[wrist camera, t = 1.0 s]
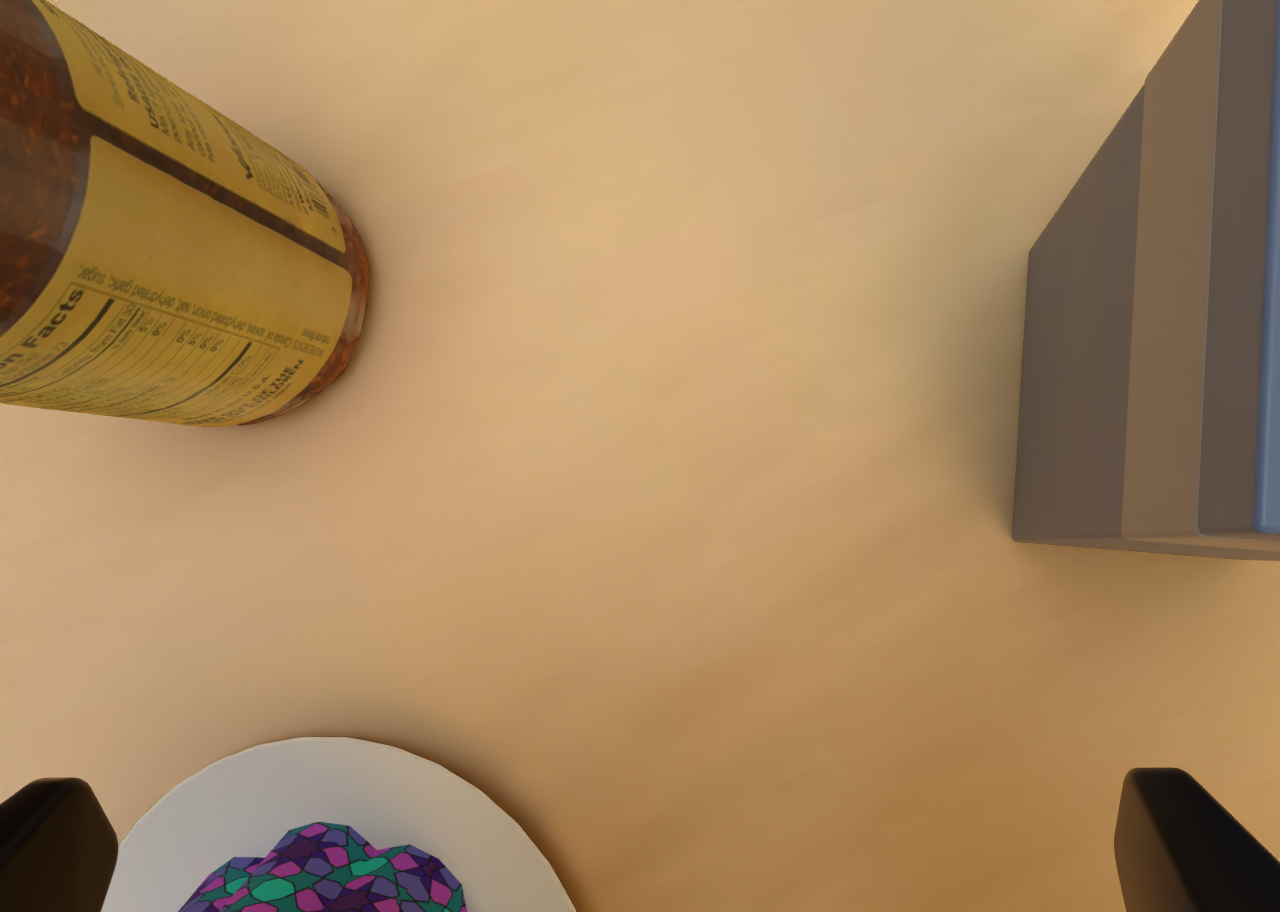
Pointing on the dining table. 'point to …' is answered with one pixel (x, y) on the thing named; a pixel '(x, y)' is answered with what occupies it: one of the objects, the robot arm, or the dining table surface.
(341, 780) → the pudding
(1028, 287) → the block
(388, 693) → the dining table surface
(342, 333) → the sauce bottle
